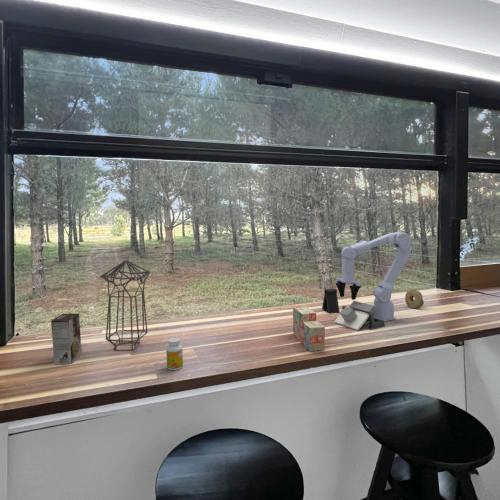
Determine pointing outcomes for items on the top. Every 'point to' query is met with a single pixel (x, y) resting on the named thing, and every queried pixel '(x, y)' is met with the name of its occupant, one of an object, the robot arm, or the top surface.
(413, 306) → the stone disc
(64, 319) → the coffee box
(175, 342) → the supplement bottle
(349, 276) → the robot arm
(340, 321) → the trapdoor
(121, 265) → the geometric lantern
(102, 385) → the top surface
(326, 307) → the phone stand
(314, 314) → the stack of blocks
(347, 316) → the stone block
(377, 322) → the frame
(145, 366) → the top surface
